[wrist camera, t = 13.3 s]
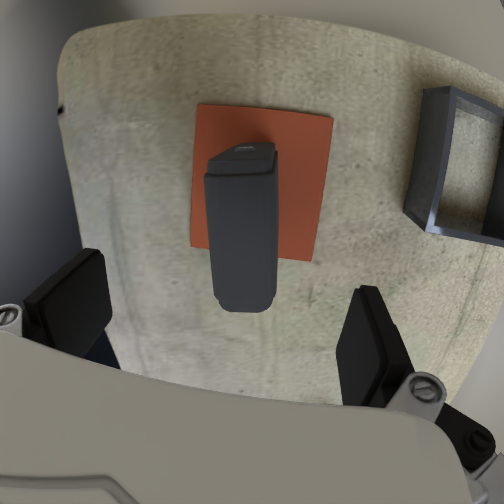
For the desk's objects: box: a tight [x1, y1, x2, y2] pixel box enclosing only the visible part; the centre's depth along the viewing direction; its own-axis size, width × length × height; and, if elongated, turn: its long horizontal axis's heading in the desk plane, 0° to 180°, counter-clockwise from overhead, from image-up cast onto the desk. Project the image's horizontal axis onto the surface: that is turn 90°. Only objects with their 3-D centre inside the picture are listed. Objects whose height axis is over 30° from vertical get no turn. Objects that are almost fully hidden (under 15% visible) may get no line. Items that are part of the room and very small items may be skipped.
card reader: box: [203, 142, 279, 313], centre depth 23 cm, size 9×4×15 cm, turn 2°
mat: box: [191, 104, 334, 262], centre depth 31 cm, size 15×13×1 cm
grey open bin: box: [403, 86, 504, 247], centre depth 25 cm, size 14×13×6 cm
